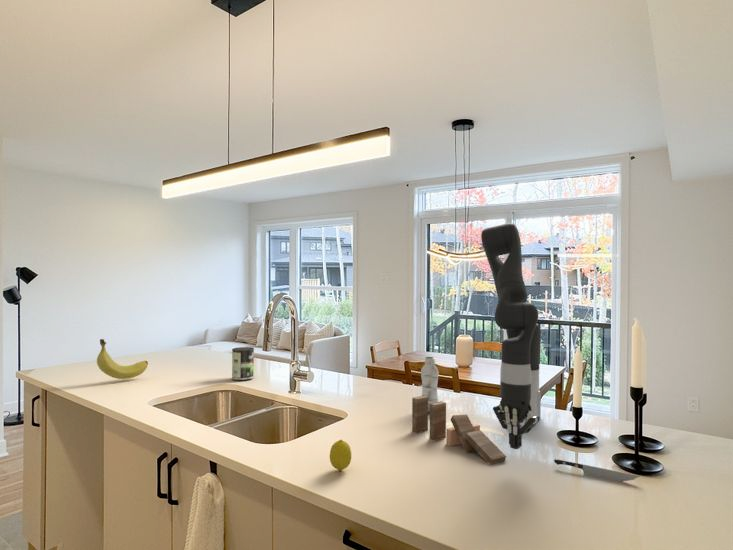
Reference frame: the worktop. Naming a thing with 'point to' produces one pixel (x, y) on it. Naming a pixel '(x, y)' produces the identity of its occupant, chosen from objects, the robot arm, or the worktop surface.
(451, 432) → the domino
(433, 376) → the plastic bottle
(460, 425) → the domino
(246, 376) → the coffee can
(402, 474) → the worktop surface
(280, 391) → the worktop surface
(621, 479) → the chef's knife
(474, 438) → the domino
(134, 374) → the banana
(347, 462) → the lemon
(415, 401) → the domino
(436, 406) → the domino
